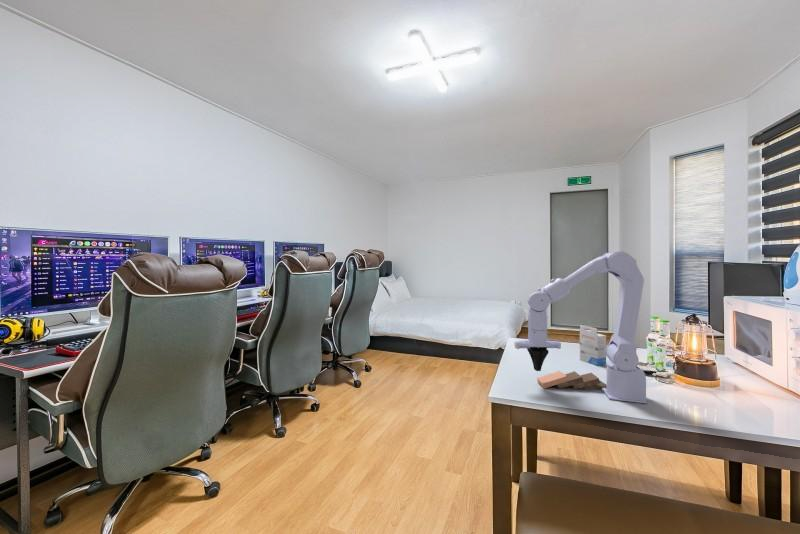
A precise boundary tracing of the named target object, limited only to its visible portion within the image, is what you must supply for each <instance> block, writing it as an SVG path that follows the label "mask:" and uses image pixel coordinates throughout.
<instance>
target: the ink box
mask: <svg viewBox="0 0 800 534" xmlns="http://www.w3.org/2000/svg"><path fill="white" fill-rule="evenodd" d="M579 327H580V328H579V361H582V362H585V363H588V364H591V365H594V366H596V367H600V366H604V365H606V366H607V356H606V353H605V348H606V346H607V335H605V334H601V333H598V330H599V329H598V328H596V327H593V326H587V325H584V324H583V325H582V324H580V326H579Z"/></svg>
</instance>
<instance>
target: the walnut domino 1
mask: <svg viewBox="0 0 800 534" xmlns="http://www.w3.org/2000/svg"><path fill="white" fill-rule="evenodd" d="M564 375H566V376H567V379H568V381H566V382H563V383H560V384H557V385H554V386H555V387H556V388H558V390H560V389H564V388H567V387H572V386H571V385H574V384H577V383H581V382H584V381H583V378H582V376H580V374H579V373H577V371H572V372H569V373H565V374H564Z"/></svg>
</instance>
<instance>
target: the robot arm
mask: <svg viewBox="0 0 800 534" xmlns="http://www.w3.org/2000/svg"><path fill="white" fill-rule="evenodd" d="M601 273H602V274H603V273H609V274H612V275H613V276H614V277H615V278H616V279H617V280H618V281H619V282H620V283H621V287H620V294H619V295H620V296H619V301H618V307H617V313H616V319H615V325H614V333H612V335H611V337H610V340H609V343H608V344H606V348H605V353H606V358H608V361H606V388H602V389H601V390H602V391H603V392H604V394H605V396H606V397H607V398H608V399H609V400H613V401H623V402H629V403H630V402H631V403H637V404H647V403H648V402H647V378H646V377H647V376H646V375H645V373H644V371H643V370H644V369H643V368H642V369H641V368H640V369H637V368H636V366H637V367H638V362H640V361H639V356H638V354H637V353H638V352H637V349H638V347H637V343H636V339H635V337H636V330H637V324H638V319H639V312H640V309H641V308H640V306H641V302H642V301H641V300H642V295H643V290H644V283H645V278H644V277H643V274H642V272H641V270H640V268H639V267H638V265H637V260H636V259H635V258H634V257H633V256H632V255H630V253H627V252H625V251H621V250H619V251H609V252H605V253H604V254H603V255H602V256H597V257H596V258H594V259H592V260H590V261H589V262H587V263H586V264H584V265H583V266H581V267H580V268H578V269H577V270H575V271H574V272H572V273H571V274H569V275H567V277H565V278H560V277H557V278H552V279H550V281H549V283H548V284H546V285H544V286H543V287H542V288H541V287H538V288H537V291H535V292H532V293H530V294H529V296H528V299H527V304H528V305H529V308H528V316H527V317H528V319H527V320H528V323H527V325H528V327H527V329H528V332H527V333H528V334H527V335H528V336H527V340H521V341H520V340H519V341H514V348H515V349H516V350H520V349H526V350H527V352H528V354H529V356H530V358H531V361H532V366H533V370H534V371H536V372H541V371H542V367H543V364H544V362H545V359H546V358H547V356H548V355H549V350H548V349H559V350H560V349H562V342H561V341H558V340H557V341H556V340H555V341H552V340H548V315H547V311H548V308H549V307H550V304H554V303H555V302H557V301H559V300H560V299H562V298H563V297H566V296H567V295H568V294H570V292H571V288H572V287H573V286H575V285H577V284H578V283H580V282H582V281H584V280H586V279H588V278H590V277H591V276H593V275H595V274H601Z"/></svg>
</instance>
